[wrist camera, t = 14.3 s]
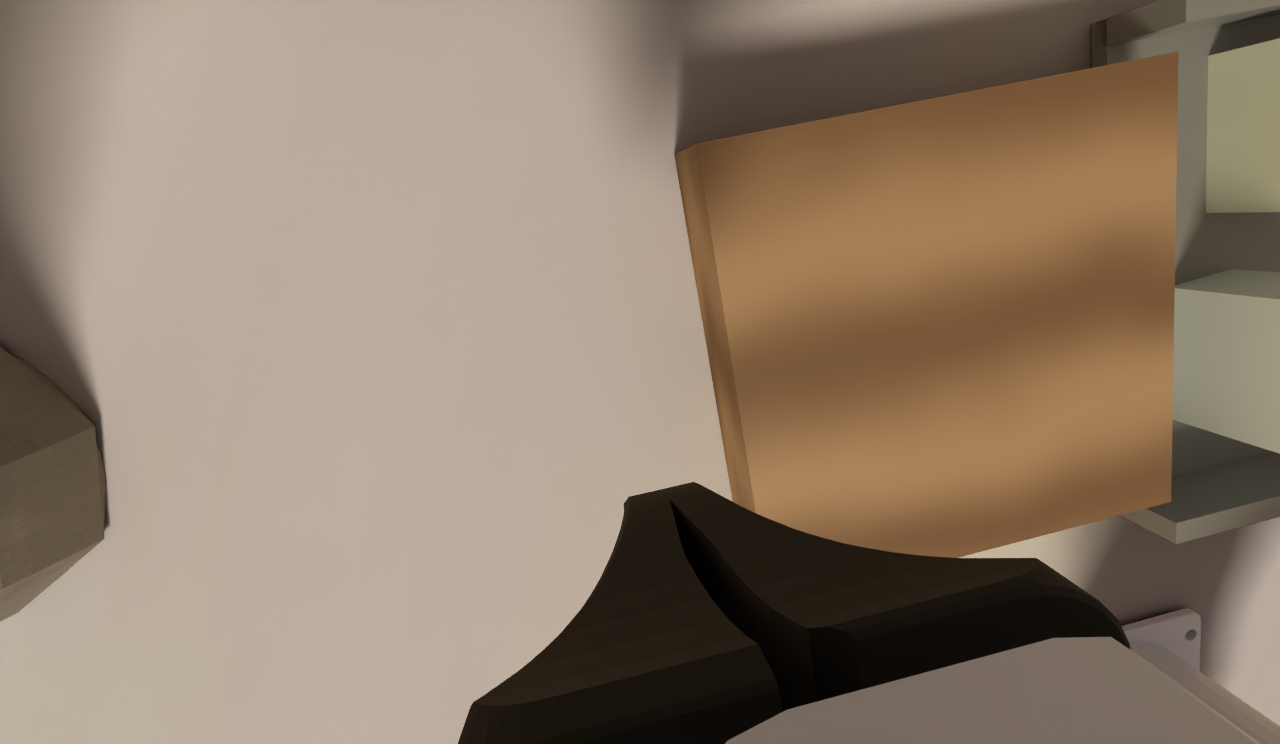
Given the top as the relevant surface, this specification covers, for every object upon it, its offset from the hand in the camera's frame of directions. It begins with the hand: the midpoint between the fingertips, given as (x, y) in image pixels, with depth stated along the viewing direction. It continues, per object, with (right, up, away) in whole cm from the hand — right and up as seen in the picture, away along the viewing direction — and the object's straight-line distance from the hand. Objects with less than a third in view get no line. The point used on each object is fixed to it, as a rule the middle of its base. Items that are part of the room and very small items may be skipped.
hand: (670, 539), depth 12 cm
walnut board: (+9, +5, +10) cm, 14 cm away
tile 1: (+20, +3, +9) cm, 22 cm away
